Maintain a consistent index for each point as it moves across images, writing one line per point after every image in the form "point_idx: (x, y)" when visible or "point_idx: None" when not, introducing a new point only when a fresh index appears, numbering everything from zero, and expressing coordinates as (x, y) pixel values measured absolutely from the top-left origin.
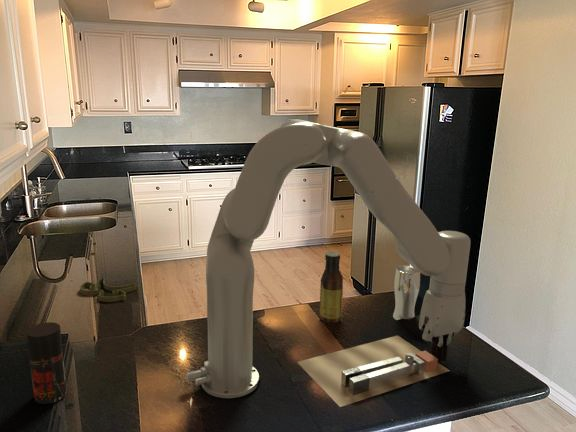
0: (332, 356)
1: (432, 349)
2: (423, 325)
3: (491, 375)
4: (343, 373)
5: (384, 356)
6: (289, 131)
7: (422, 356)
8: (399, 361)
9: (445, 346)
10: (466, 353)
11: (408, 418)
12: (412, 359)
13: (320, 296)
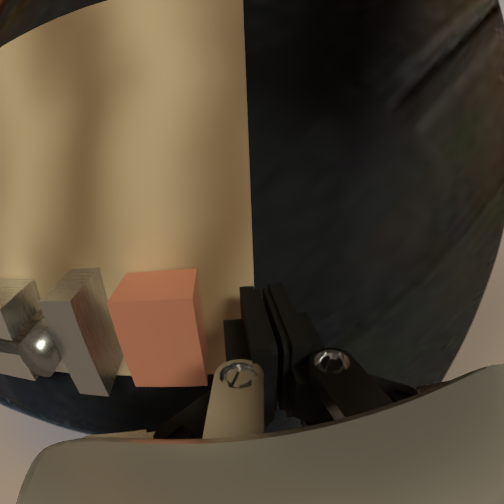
0: None
1: (225, 341)
2: (117, 463)
3: (382, 377)
4: None
5: (24, 161)
6: None
7: (131, 344)
8: (2, 336)
9: (287, 410)
10: (441, 247)
11: (37, 416)
12: (46, 376)
13: None
